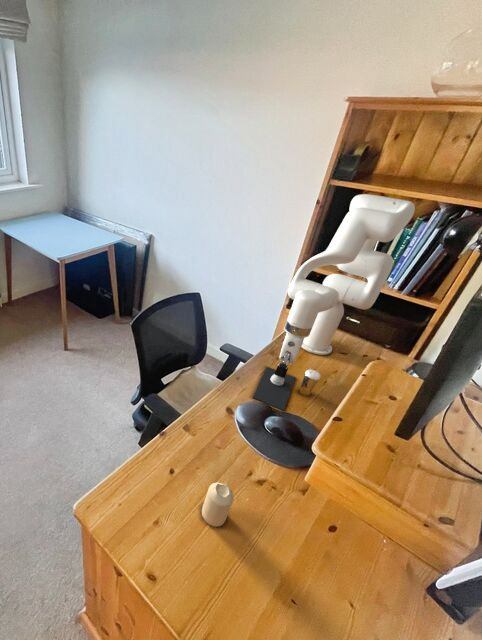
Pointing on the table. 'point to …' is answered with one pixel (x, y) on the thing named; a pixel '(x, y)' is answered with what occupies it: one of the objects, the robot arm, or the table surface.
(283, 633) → the table surface
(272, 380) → the rook chess piece
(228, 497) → the candle
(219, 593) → the table surface
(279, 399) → the felt mat
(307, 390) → the milkshake
